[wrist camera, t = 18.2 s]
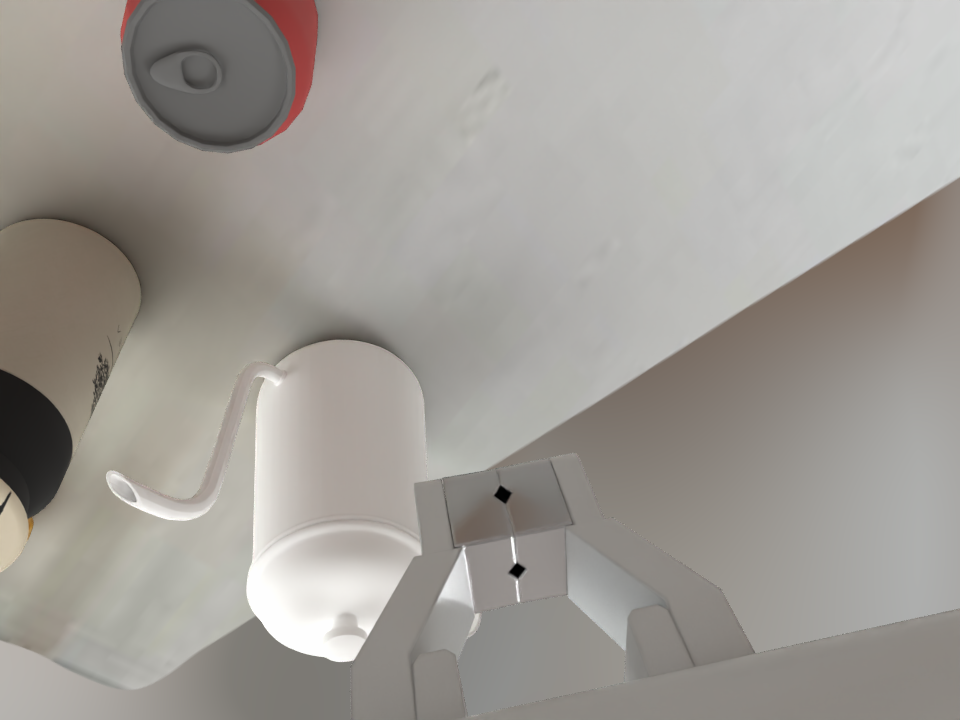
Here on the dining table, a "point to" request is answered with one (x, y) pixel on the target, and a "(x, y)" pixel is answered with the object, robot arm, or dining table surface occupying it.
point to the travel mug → (53, 356)
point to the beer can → (220, 67)
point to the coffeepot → (321, 491)
